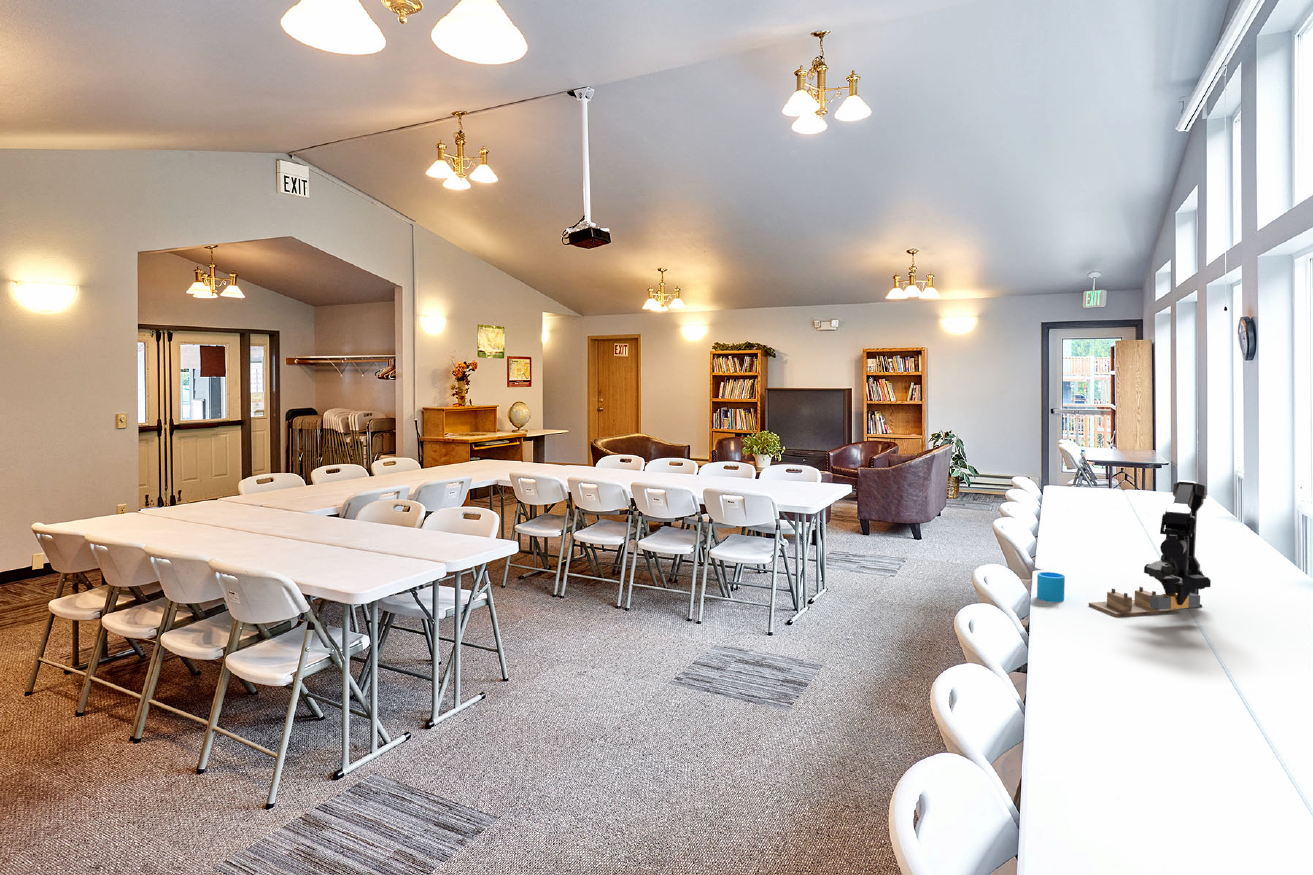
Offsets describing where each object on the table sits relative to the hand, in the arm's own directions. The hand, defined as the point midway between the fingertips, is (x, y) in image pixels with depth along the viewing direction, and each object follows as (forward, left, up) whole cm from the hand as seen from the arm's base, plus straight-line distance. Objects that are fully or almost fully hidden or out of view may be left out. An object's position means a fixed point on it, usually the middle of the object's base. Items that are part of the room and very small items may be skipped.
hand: (1175, 603), depth 227 cm
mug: (+18, -31, -6) cm, 36 cm away
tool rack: (+2, -14, -6) cm, 15 cm away
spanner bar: (0, 0, -1) cm, 1 cm away
